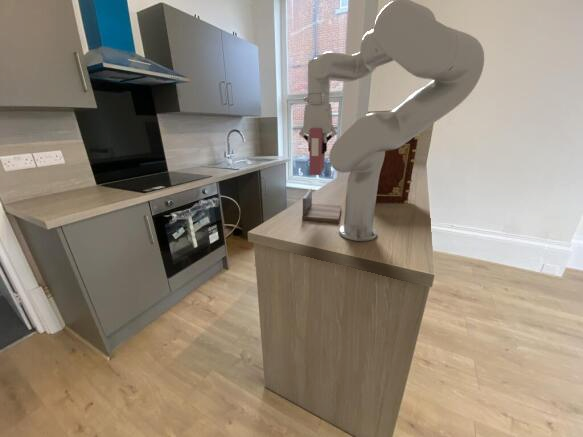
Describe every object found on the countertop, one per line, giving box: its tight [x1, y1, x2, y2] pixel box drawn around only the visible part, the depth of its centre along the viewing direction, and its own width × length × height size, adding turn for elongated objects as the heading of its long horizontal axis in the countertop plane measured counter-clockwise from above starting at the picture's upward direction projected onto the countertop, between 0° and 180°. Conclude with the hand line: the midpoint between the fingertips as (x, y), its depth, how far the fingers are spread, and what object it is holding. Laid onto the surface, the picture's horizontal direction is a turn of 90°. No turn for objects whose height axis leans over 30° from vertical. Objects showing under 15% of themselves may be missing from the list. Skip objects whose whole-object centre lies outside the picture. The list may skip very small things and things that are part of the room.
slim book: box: [308, 128, 326, 176], centre depth 91 cm, size 12×4×16 cm, turn 166°
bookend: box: [302, 188, 313, 216], centre depth 100 cm, size 14×1×7 cm, turn 166°
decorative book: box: [376, 134, 420, 205], centre depth 111 cm, size 22×8×30 cm, turn 84°
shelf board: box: [301, 203, 342, 225], centre depth 100 cm, size 16×14×2 cm
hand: (317, 153), depth 91 cm, fingers closed on slim book, 4 cm apart
